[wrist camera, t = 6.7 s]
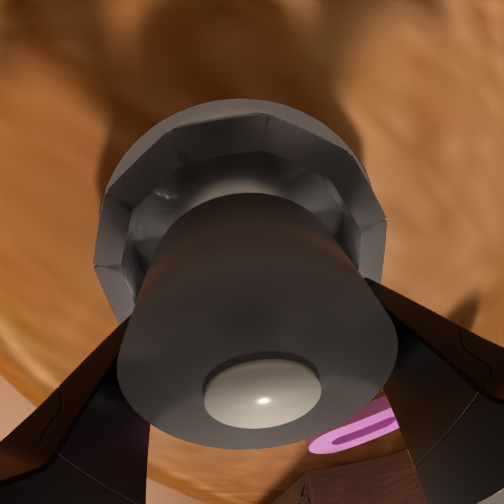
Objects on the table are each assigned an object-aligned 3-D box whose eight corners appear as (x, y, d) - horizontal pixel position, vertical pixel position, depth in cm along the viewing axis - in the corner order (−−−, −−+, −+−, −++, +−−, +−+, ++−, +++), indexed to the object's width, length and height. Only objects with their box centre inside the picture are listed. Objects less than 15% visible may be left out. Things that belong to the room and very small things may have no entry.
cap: (340, 179, 8) (430, 252, 4) (336, 336, 11) (373, 429, 7) (125, 213, 8) (59, 309, 4) (180, 360, 11) (172, 459, 7)
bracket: (450, 359, 18) (490, 424, 12) (441, 392, 21) (471, 448, 15) (298, 424, 19) (316, 505, 13) (312, 446, 22) (327, 511, 16)
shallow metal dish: (372, 90, 9) (402, 91, 7) (363, 325, 14) (378, 354, 12) (69, 139, 9) (40, 149, 7) (150, 359, 14) (144, 390, 12)
